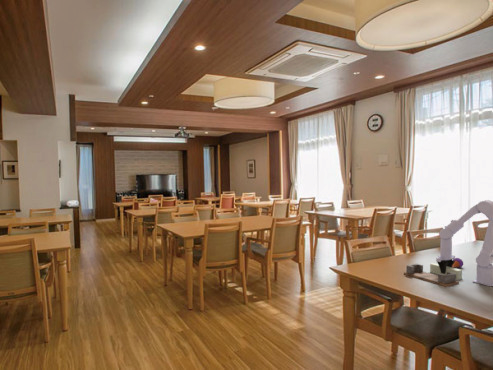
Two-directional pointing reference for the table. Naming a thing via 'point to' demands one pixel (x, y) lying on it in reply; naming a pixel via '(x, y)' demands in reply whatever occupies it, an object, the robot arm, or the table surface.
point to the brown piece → (457, 263)
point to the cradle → (431, 276)
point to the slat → (436, 269)
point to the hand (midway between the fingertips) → (445, 272)
